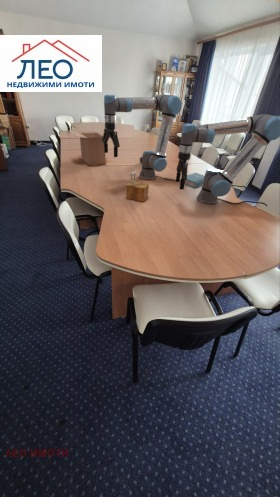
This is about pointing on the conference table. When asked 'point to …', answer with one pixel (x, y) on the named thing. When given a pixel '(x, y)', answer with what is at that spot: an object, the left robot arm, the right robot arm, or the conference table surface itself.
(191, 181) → the book
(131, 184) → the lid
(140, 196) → the chest
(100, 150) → the box
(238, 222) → the conference table surface
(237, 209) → the conference table surface
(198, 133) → the right robot arm
